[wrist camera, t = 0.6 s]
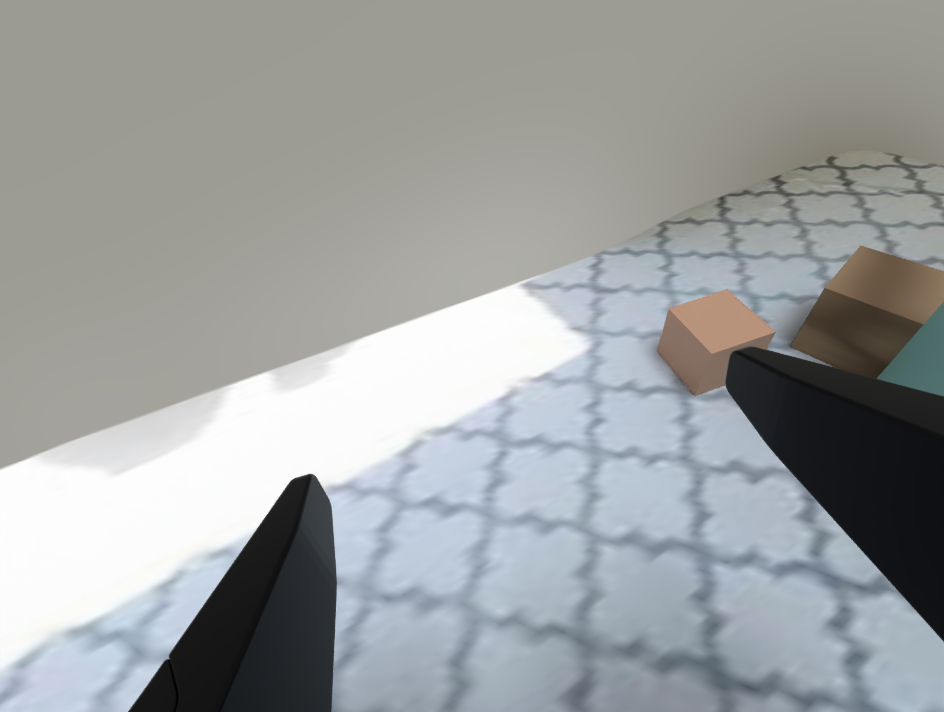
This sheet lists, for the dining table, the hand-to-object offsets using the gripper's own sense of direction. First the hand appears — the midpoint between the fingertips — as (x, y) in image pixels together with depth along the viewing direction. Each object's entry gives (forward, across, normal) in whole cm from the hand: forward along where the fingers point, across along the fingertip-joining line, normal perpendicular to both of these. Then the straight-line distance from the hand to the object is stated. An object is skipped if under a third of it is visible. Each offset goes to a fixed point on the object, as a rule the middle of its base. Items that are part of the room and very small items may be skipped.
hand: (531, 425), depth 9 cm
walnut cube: (+12, -24, +13) cm, 30 cm away
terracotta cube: (+14, -15, +13) cm, 24 cm away
